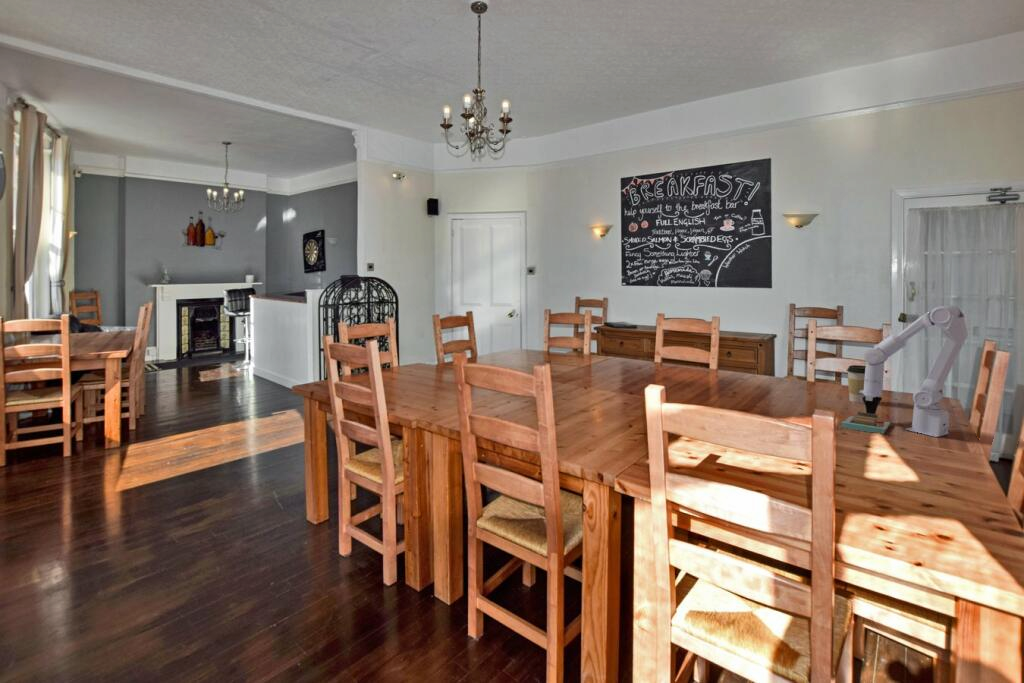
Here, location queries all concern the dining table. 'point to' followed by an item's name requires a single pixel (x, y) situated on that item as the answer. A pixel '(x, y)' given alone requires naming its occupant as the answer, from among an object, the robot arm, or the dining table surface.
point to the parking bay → (864, 426)
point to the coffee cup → (856, 382)
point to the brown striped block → (866, 419)
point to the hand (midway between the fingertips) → (870, 416)
